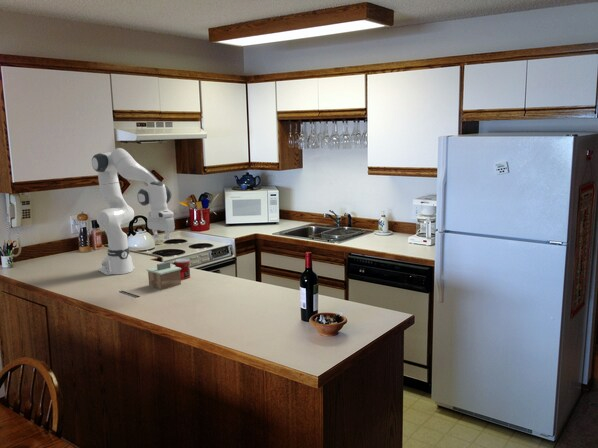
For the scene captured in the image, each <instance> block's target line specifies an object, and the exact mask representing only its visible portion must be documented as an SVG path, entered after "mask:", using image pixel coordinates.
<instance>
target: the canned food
mask: <svg viewBox="0 0 598 448" xmlns="http://www.w3.org/2000/svg"><path fill="white" fill-rule="evenodd" d="M174 262H175V263H174V266H175V267H179V268H181V270H180V276H181V280H188V279H191V267H190V264H191V263H190V259H189V258H177V259H175V260H174Z"/></svg>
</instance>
